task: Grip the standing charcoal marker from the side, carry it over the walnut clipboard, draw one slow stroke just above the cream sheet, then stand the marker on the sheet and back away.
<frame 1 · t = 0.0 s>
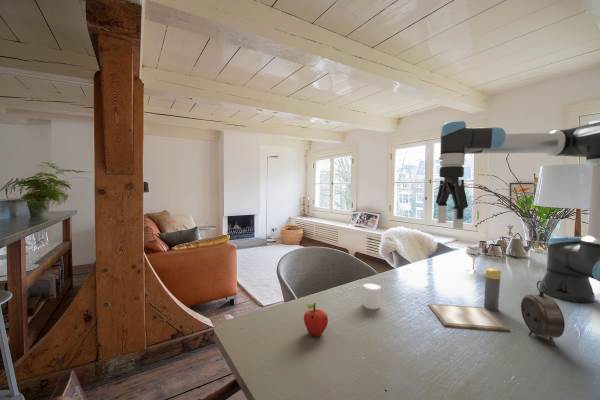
hand: (449, 225, 95), 28 cm above the table, tool pointing down, fingers open, 13 cm apart
wineglass: (473, 272, 130), on the table
apple: (315, 335, 74), on the table
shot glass: (371, 306, 92), on the table
alarm clock: (538, 338, 74), on the table
marker: (491, 308, 91), on the table
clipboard: (465, 317, 85), on the table
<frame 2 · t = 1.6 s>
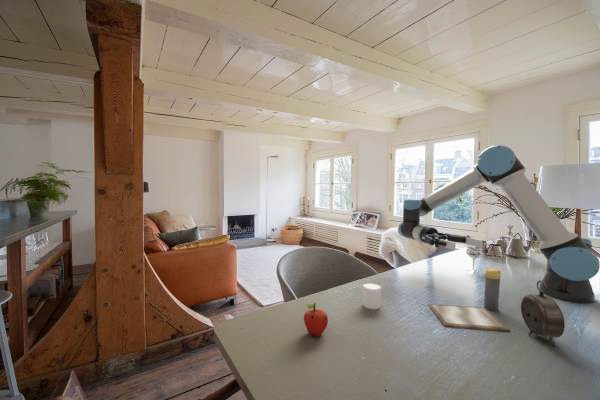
hand: (468, 245, 99), 20 cm above the table, tool horizontal, fingers open, 13 cm apart
nothing on the table moved.
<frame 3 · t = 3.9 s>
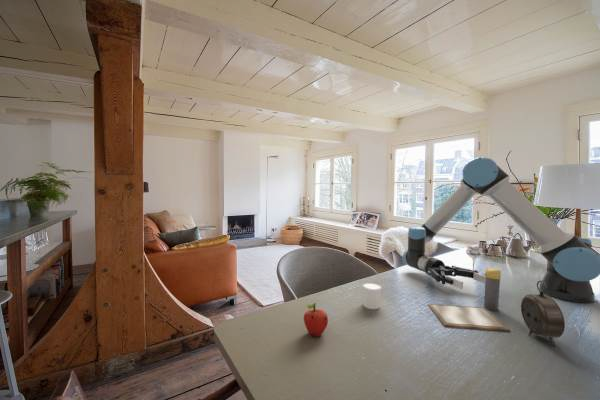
hand: (476, 283, 95), 7 cm above the table, tool horizontal, fingers open, 13 cm apart
nothing on the table moved.
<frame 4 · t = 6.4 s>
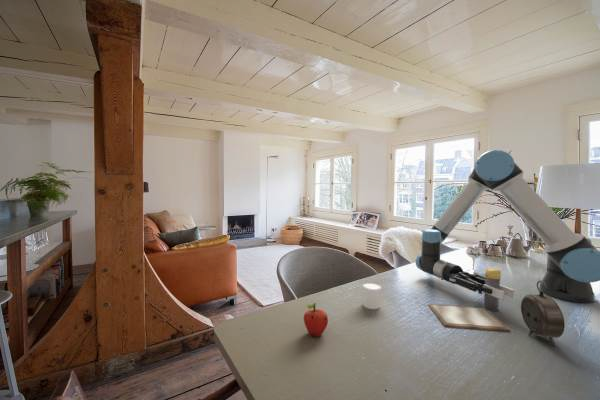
hand: (508, 294, 85), 7 cm above the table, tool horizontal, fingers closed on marker, 4 cm apart
marker: (491, 308, 91), on the table, touching gripper
everything else where it was.
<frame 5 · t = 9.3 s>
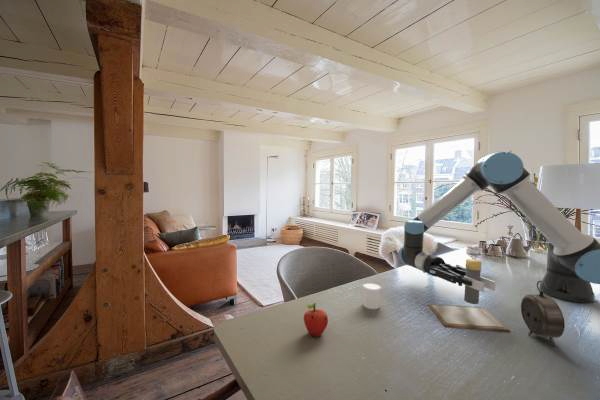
hand: (488, 286, 81), 11 cm above the table, tool horizontal, fingers closed on marker, 4 cm apart
marker: (471, 301, 86), point 4 cm above the table, touching gripper
everything else where it was.
when the fingers open (8 cm above the table, at t = 12.5 s): marker stays where it is, resting on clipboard.
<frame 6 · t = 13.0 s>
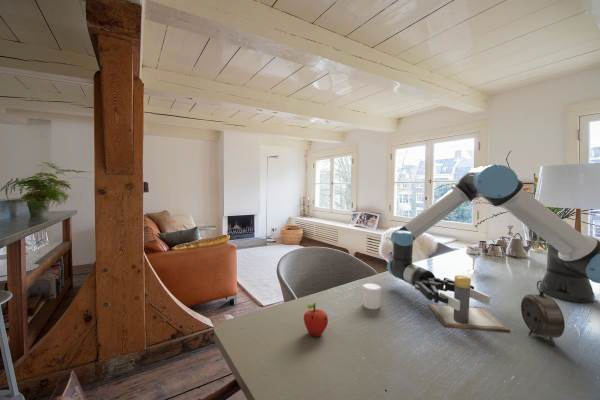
hand: (474, 303, 77), 8 cm above the table, tool horizontal, fingers open, 11 cm apart
marker: (460, 320, 81), point 1 cm above the table, touching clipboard
everything else where it was.
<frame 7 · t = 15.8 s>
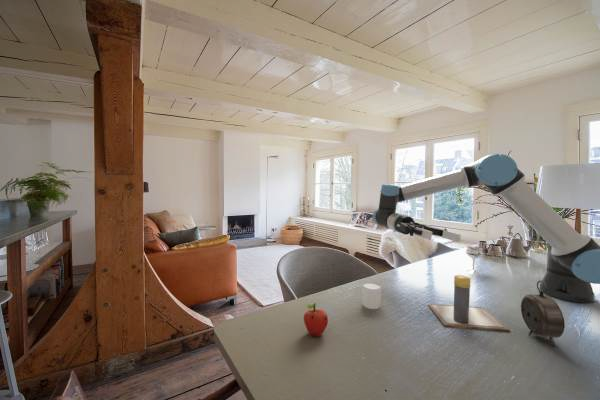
hand: (445, 237, 89), 25 cm above the table, tool horizontal, fingers open, 13 cm apart
nothing on the table moved.
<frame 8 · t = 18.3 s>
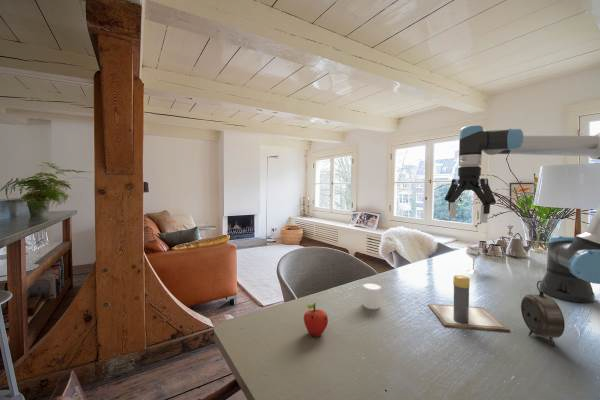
hand: (467, 220, 104), 29 cm above the table, tool pointing down, fingers open, 13 cm apart
nothing on the table moved.
at the end: marker inside the target area on the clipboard (5.0 cm from its centre), point 0.8 cm above the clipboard's base; marker tilted 2°; the gripper is holding nothing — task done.
